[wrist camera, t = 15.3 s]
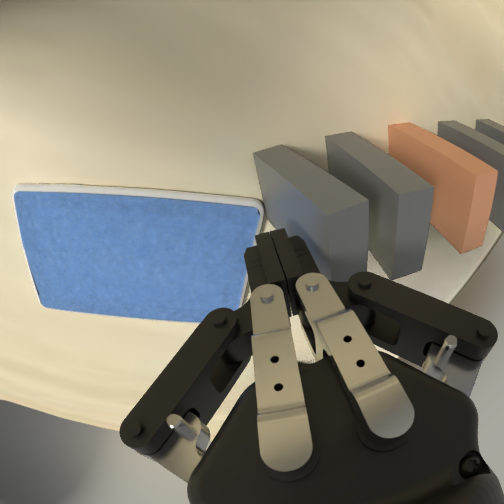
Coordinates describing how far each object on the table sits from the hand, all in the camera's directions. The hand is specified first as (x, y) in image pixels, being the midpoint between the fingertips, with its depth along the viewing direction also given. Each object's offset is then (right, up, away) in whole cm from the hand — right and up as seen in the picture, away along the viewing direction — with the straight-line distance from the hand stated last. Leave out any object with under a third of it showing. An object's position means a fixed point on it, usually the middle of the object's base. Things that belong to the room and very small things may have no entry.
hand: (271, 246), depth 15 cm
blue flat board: (-11, 0, +8) cm, 13 cm away
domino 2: (+5, +6, +5) cm, 9 cm away
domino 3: (+10, +7, +5) cm, 13 cm away
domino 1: (+1, +4, +5) cm, 7 cm away
